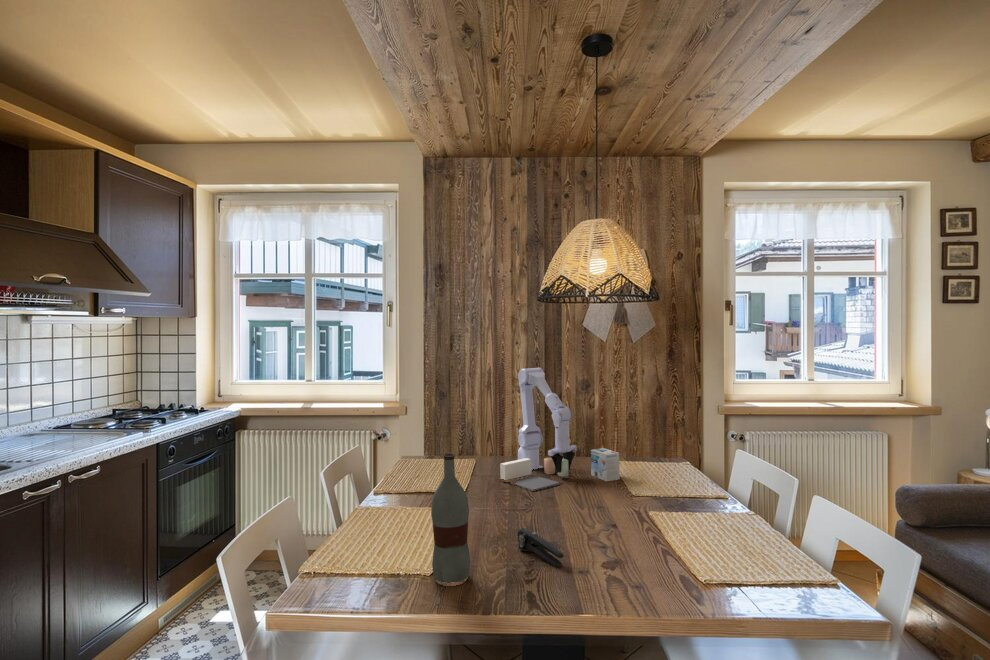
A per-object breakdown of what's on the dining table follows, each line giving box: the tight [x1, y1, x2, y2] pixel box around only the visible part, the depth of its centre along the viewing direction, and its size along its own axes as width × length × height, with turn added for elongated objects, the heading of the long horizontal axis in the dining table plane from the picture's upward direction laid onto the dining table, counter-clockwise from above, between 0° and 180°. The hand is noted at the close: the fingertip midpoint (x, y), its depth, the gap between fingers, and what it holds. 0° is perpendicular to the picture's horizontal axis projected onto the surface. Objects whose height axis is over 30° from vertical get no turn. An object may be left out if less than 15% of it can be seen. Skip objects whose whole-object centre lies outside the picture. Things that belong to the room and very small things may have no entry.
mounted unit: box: [499, 458, 534, 480], centre depth 212 cm, size 4×15×7 cm, turn 128°
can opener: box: [517, 528, 565, 568], centre depth 138 cm, size 18×7×6 cm, turn 31°
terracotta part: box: [543, 456, 556, 475], centre depth 220 cm, size 4×4×6 cm
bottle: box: [430, 453, 471, 583], centre depth 126 cm, size 9×9×30 cm
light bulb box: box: [590, 447, 621, 482], centre depth 211 cm, size 11×7×11 cm, turn 25°
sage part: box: [557, 458, 570, 477], centre depth 210 cm, size 4×4×6 cm
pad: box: [515, 475, 561, 492], centre depth 203 cm, size 14×14×1 cm
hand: (563, 470), depth 210 cm, fingers closed on sage part, 4 cm apart
